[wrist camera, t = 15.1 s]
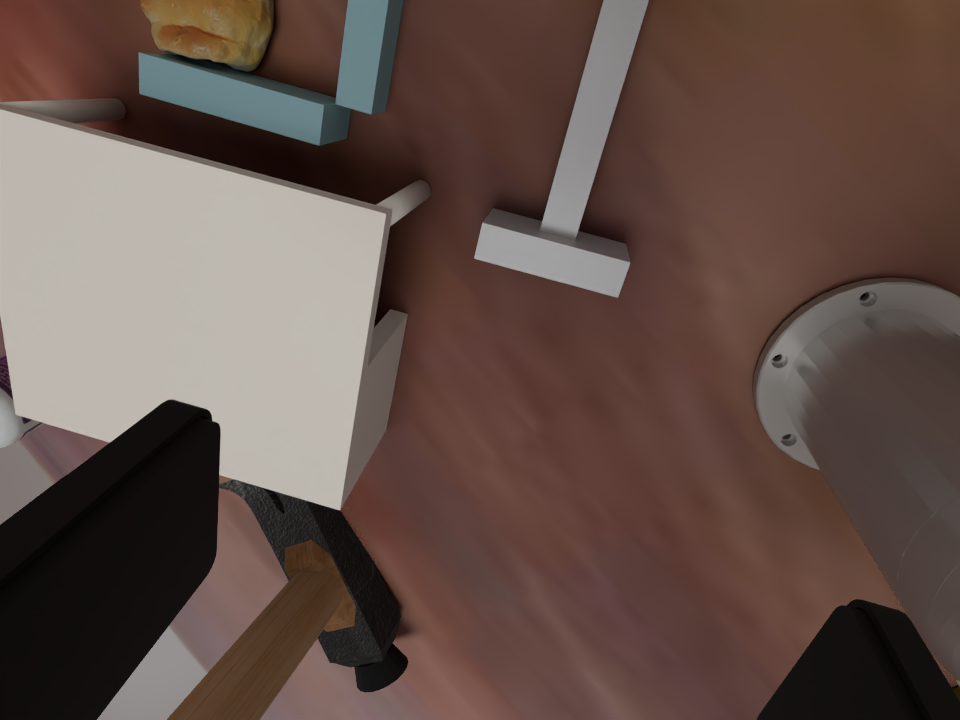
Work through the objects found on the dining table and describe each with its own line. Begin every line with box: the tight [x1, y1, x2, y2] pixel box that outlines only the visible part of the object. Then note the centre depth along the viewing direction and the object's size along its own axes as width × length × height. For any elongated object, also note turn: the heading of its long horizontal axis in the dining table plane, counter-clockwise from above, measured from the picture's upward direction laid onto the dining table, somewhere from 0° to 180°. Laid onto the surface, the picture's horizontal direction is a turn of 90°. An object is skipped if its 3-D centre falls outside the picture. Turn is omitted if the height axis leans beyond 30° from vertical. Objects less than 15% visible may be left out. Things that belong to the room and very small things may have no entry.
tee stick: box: [474, 0, 649, 298], centre depth 28 cm, size 8×20×6 cm, turn 167°
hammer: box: [167, 479, 408, 720], centre depth 35 cm, size 20×5×30 cm, turn 25°
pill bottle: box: [0, 354, 45, 448], centre depth 41 cm, size 5×5×10 cm
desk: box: [0, 98, 431, 510], centre depth 35 cm, size 20×18×9 cm
